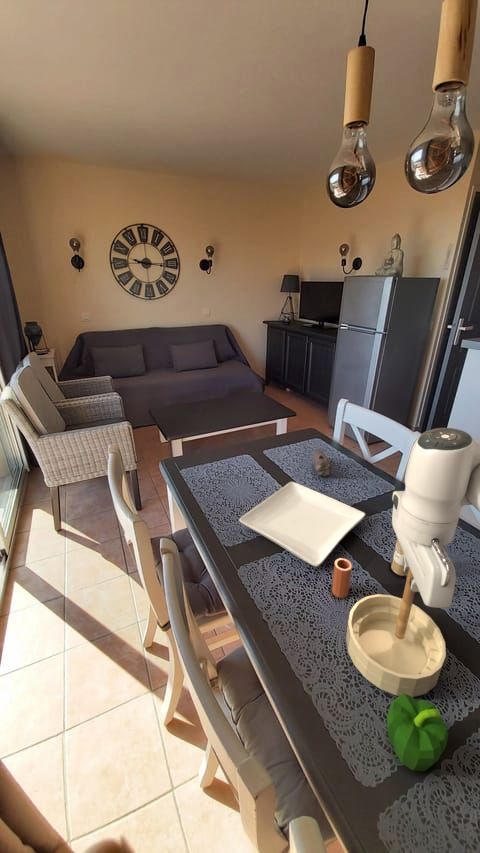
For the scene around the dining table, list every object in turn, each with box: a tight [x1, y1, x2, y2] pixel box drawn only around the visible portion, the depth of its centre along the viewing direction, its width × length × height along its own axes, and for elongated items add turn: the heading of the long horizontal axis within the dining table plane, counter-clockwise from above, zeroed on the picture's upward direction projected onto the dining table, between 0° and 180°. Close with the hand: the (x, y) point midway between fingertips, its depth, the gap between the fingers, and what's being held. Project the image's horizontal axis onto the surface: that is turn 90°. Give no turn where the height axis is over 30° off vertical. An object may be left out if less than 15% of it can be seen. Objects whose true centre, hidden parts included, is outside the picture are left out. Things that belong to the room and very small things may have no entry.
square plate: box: [238, 481, 366, 568], centre depth 106 cm, size 27×27×4 cm
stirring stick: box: [395, 567, 416, 639], centre depth 68 cm, size 2×2×20 cm
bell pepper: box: [386, 694, 450, 772], centre depth 55 cm, size 8×8×10 cm
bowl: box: [345, 593, 447, 698], centre depth 71 cm, size 17×17×6 cm
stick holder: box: [331, 557, 353, 599], centre depth 84 cm, size 4×4×8 cm
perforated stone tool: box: [311, 449, 332, 478], centre depth 135 cm, size 15×5×7 cm, turn 1°
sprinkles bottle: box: [390, 537, 406, 577], centre depth 88 cm, size 5×5×13 cm
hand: (412, 581), depth 66 cm, fingers closed on stirring stick, 2 cm apart
